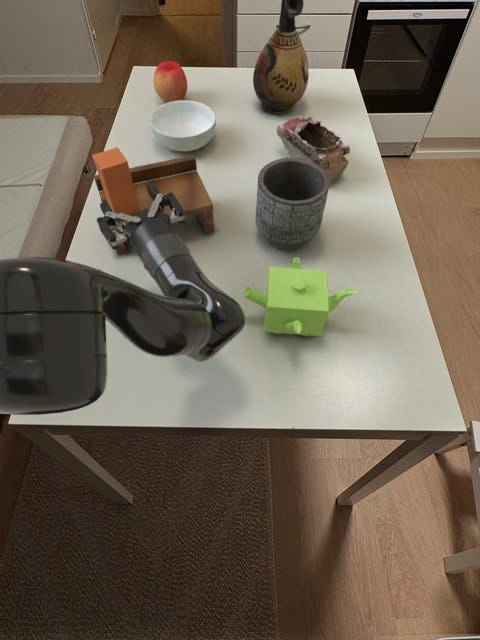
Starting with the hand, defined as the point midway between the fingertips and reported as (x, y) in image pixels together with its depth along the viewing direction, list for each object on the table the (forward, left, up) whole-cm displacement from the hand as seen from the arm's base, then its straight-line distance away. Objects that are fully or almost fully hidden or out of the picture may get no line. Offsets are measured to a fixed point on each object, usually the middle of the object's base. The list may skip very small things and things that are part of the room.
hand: (126, 195), depth 75 cm
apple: (+22, +58, -17) cm, 64 cm away
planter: (+32, -4, -17) cm, 36 cm away
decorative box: (+46, +17, -17) cm, 52 cm away
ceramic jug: (+51, +46, -17) cm, 71 cm away
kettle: (+24, -26, -17) cm, 39 cm away
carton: (-1, +7, -9) cm, 11 cm away
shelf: (+6, +8, -17) cm, 19 cm away
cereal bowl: (+20, +37, -17) cm, 45 cm away
